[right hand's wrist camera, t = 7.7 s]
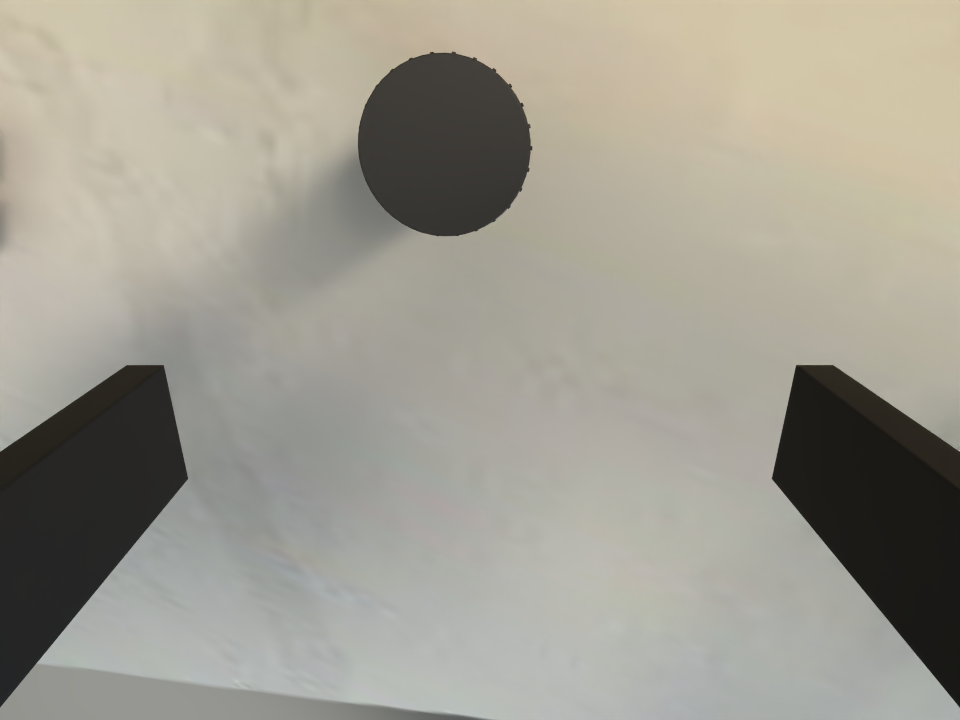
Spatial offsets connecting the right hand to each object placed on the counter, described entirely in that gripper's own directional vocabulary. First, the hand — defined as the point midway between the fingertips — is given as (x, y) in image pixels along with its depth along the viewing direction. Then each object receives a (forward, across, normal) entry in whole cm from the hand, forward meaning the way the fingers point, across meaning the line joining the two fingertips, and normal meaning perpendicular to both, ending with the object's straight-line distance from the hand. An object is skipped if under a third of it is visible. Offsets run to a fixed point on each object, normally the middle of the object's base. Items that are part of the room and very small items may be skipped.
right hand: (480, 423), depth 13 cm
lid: (+8, -1, +5) cm, 10 cm away
